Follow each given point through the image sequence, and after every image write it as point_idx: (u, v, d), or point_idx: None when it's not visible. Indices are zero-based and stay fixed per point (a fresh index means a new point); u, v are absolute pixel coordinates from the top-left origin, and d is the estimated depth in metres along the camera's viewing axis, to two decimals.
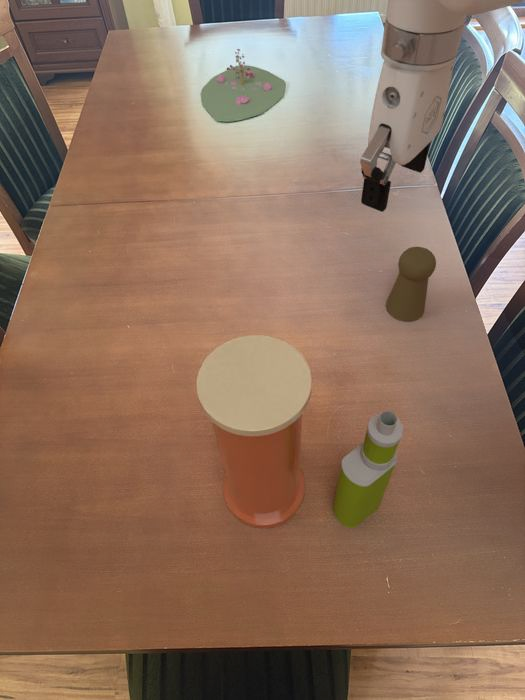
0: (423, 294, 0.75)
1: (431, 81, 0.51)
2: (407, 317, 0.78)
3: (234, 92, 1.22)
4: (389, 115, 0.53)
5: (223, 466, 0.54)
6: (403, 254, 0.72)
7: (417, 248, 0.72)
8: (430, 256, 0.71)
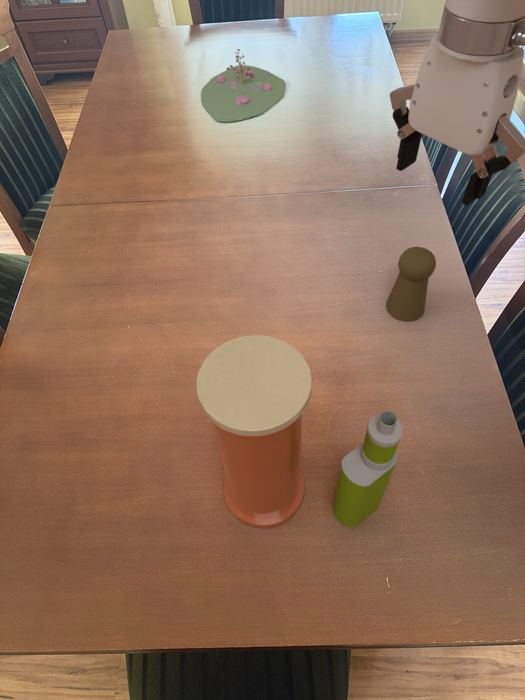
0: (423, 294, 0.75)
1: None
2: (407, 317, 0.78)
3: (234, 93, 1.22)
4: (507, 103, 0.51)
5: (223, 466, 0.54)
6: (403, 254, 0.72)
7: (417, 248, 0.72)
8: (430, 256, 0.71)
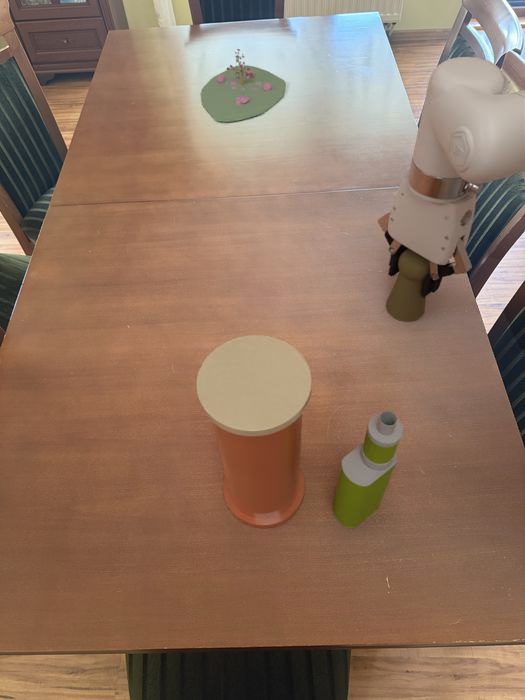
0: None
1: None
2: (407, 317, 0.78)
3: (234, 92, 1.22)
4: (464, 229, 0.64)
5: (223, 466, 0.54)
6: (403, 254, 0.72)
7: None
8: None
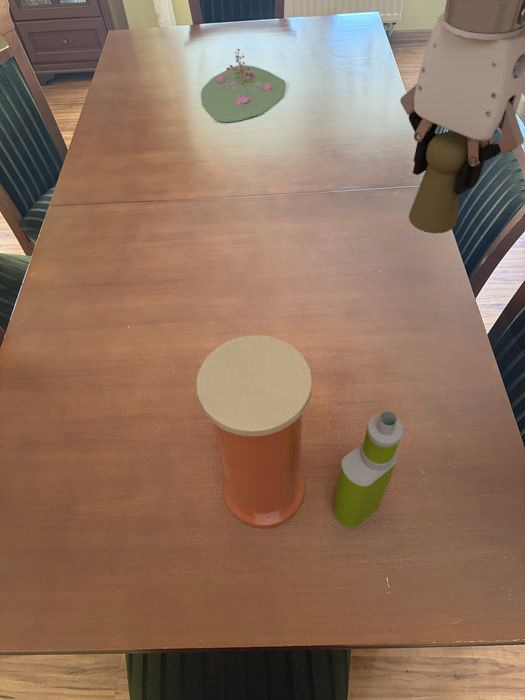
0: None
1: None
2: (436, 227, 0.63)
3: (234, 93, 1.22)
4: (516, 84, 0.49)
5: (223, 466, 0.54)
6: (432, 139, 0.58)
7: (450, 132, 0.58)
8: (467, 139, 0.57)
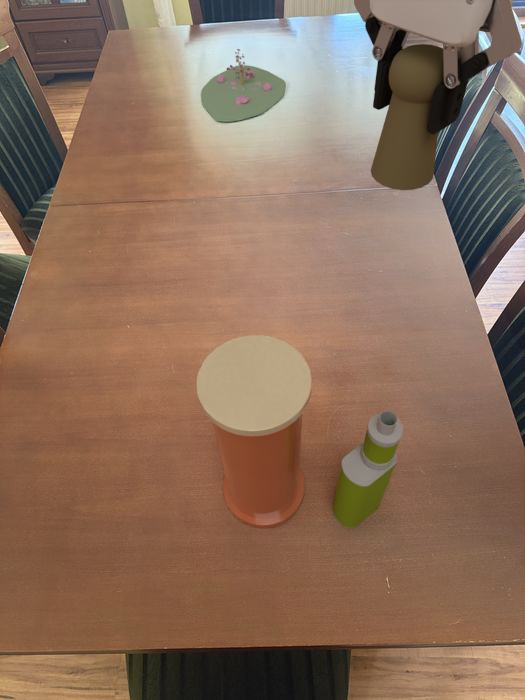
0: (432, 134, 0.45)
1: None
2: (405, 181, 0.47)
3: (234, 92, 1.22)
4: None
5: (223, 466, 0.54)
6: (397, 54, 0.42)
7: (421, 44, 0.42)
8: None
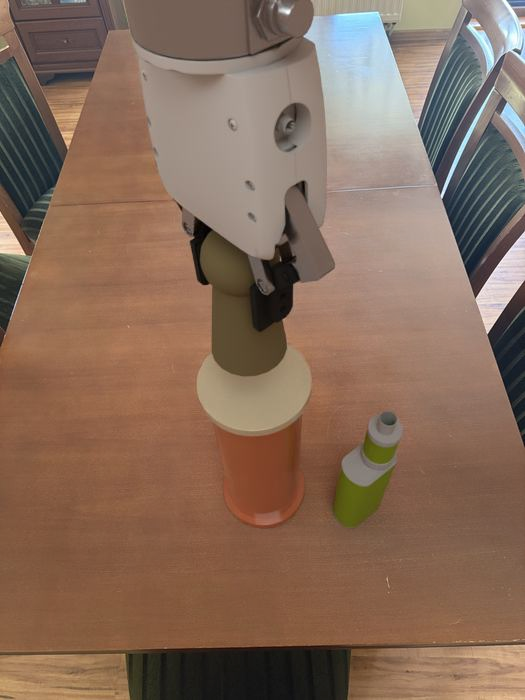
0: None
1: None
2: (244, 368, 0.38)
3: None
4: (298, 162, 0.24)
5: (223, 466, 0.54)
6: (207, 236, 0.32)
7: None
8: None
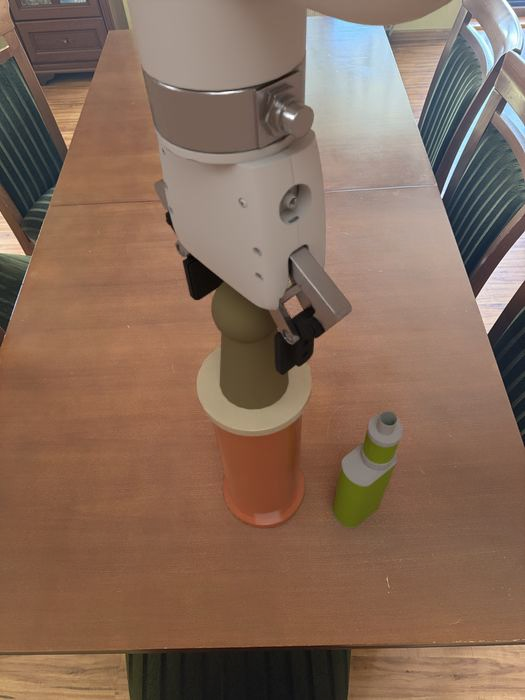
0: (270, 363, 0.39)
1: None
2: (249, 402, 0.42)
3: None
4: (300, 230, 0.27)
5: (223, 466, 0.54)
6: (217, 289, 0.36)
7: None
8: None
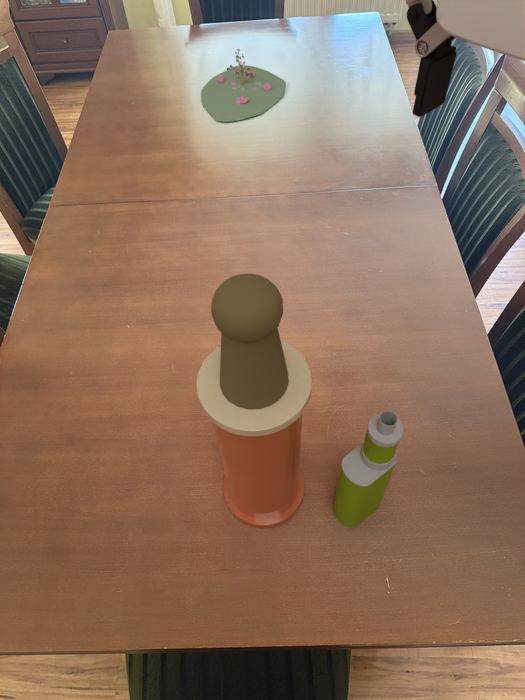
0: (270, 363, 0.39)
1: None
2: (249, 402, 0.42)
3: (234, 93, 1.22)
4: None
5: (223, 466, 0.54)
6: (217, 289, 0.36)
7: (246, 277, 0.36)
8: (267, 294, 0.35)
